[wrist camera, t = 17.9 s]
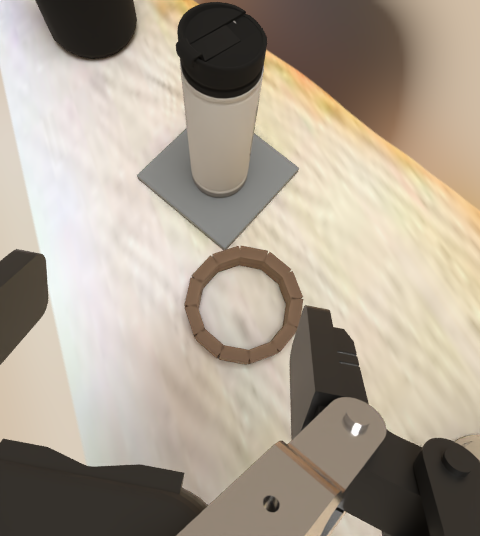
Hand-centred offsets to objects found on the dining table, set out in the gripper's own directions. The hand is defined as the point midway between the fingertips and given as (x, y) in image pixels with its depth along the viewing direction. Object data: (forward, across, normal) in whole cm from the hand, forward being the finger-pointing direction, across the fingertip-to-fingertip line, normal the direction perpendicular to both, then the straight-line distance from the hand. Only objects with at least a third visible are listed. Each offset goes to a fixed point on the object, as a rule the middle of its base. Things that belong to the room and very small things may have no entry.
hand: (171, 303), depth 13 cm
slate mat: (+36, +2, +7) cm, 37 cm away
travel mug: (+36, +2, +7) cm, 36 cm away
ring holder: (+26, -3, +17) cm, 31 cm away
